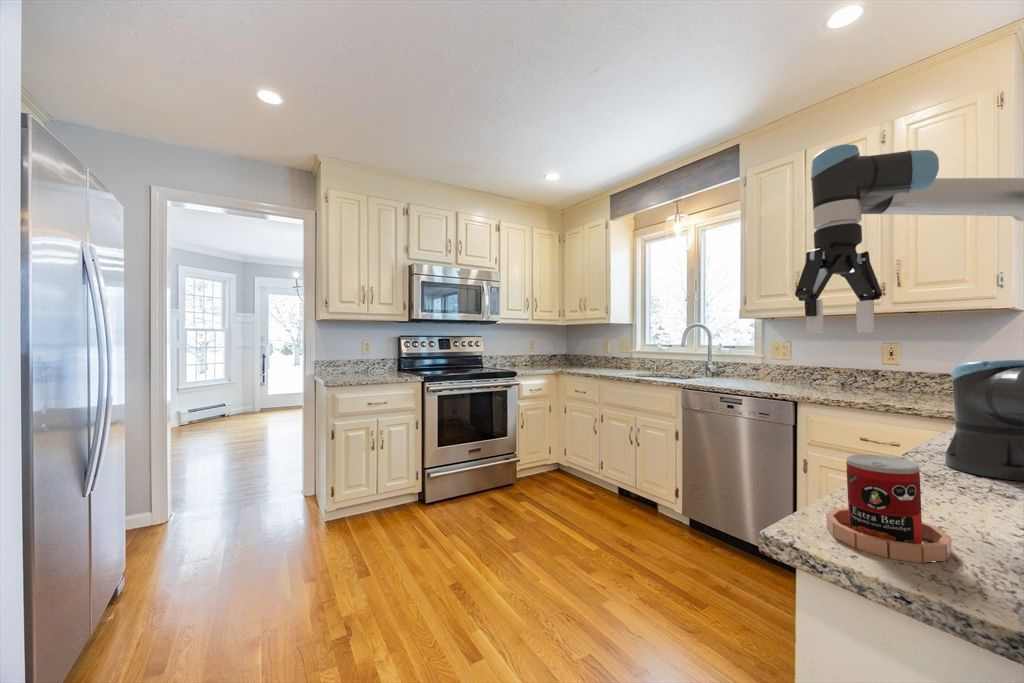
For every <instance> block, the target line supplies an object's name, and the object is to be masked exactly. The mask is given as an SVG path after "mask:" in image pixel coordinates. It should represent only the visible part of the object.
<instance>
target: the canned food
mask: <svg viewBox="0 0 1024 683" xmlns="http://www.w3.org/2000/svg"><path fill="white" fill-rule="evenodd" d="M845 464H846V485H847V488H846V489H847V508H848V513H849V523H848V528H850V529H853V530H855V531H857V532H859V533H863V534H866V535H870V536H874V537H877V538H881V539H885V540H889V541H897V542H905V543H912V544H923V538H922V522H923V521H922V518H923V517H922V496H921V476H920V475H921V473H920V472H921V471H920V468H919V465H918V464H917V463H915V462H912V461H910V460H908V459H903V458H898V457H893V456H886V455H876V454H852V455H849V456H847V457H846V462H845Z"/></svg>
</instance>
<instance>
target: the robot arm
mask: <svg viewBox="0 0 1024 683" xmlns="http://www.w3.org/2000/svg"><path fill="white" fill-rule="evenodd" d="M939 161H940V159H939V157H938V155H937V153H936V152H934V151H933V150H930V149H919V150H917V149H916V150H912V149H909V150H906V151H898V152H889V153H883V154H875V155H873V154H872V155H861V153H860V150H859V147H858V145H856V144H850V143H845V144H839V145H835V146H834V145H833V146H831V147H829V148H826V149H824V150H821V151H820V152H819V153H817V154H815V156H813V159H812V161H811V170H810V171H811V173H810V175H811V176H810V181H811V194H812V212H813V229H814V230H815V231H814V233H813V247H814V249H812V250H807V252H806V254H805V263H804V266H803V269H802V272H801V275H800V278H799V280H798V283H797V287H796V289H795V292H794V296H795V297H796V298H798V300H799V302H804V316H805V317H806V334H807V335H810V334H811V335H814V334H816V335H817V334H824V333H825V332H824V311H823V310H824V308H823V299H821V298H820V296H821V294H822V293H823V291H824V289H825V287H826V285H828V283H829V281H830V279H831V278H832V276H833V275H836V276H837V275H840V277H842V278H844V279H845V280H846V282H847V284H848V285H849V287H850V288H851V289H852V291H853V292H854V294H855V296H856V297H857V299H858V300H857V301H856V302H855V313H856V315H855V316H856V333H857V334H864V333H865V334H867V333H868V334H869V333H875V316H874V314H875V306H874V305H875V303H874V302H875V301H877V300H880V299H881V297H882V296H883V291H882V289H881V287H880V284H879V282H878V279H877V276H876V274H875V272H874V268H873V266H872V263H871V260H870V253H869V251H867V250H866V251H862V252H857V249H856V248H857V246H858V245H860V244H861V243H862V242H863V232H862V231H863V228H862V225H861V224H860V223H861V221H862V220H863V219H862V215H913V216H914V215H916V216H917V215H918V216H920V215H921V216H922V215H923V216H926V215H928V216H985V217H986V216H987V217H992V216H993V217H1011V218H1013V219H1015V220H1016V221H1019V222H1024V177H946V178H945V177H942V178H941V177H940V178H939V177H938V178H937V176H938V174H939V173H938V172H939V170H940V164H939ZM951 384H952V385H953V389H952V390H953V403H954V404H953V405H954V406H953V408H954V425H955V426H954V433H953V436H952V438H951V440H950V443H949V444H948V447H947V449H946V451H945V453H944V454H945V455H944V458H945V459H944V460H945V466H946V467H949V468H951V469H954V470H956V471H960V472H964V473H968V474H974V475H977V476H983V477H989V478H993V479H994V478H995V479H1001V480H1009V481H1018V482H1024V359H1004V360H1003V359H1000V360H999V359H996V360H985V361H984V360H983V361H982V360H981V361H971V362H968V361H967V362H962V363H958V364H956V365H955V366H954V368H953V372H952V378H951Z"/></svg>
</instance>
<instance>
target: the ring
mask: <svg viewBox="0 0 1024 683" xmlns="http://www.w3.org/2000/svg"><path fill="white" fill-rule="evenodd" d="M844 524H849V513H848V507H840V508H833V509H831V510H830V511H828V512H827V513H826V529H827V530H828V532H829V533H830V534H831V536H832V537H833V538H834V539H836V540H838V541H840V542H842V543H844V544H846V545H848V546H850V547H852V548H854V549H857V550H860V551H863V552H866V553H869V554H870V553H871V554H873V555H876V556H880V557H883V558H887V559H888V558H889V559H890V560H891V559H892V560H897V561H898V560H899V561H905V562H911V563H918V562H919V564H926V563H925V562H932V561H944V562H947V561H946V560H948V561H949V559H948V558H950V557H951V555H952V536H950V535H948V533H946V532H945V531H943V530H942V529H941V528H939V527H938V526H935V525H933V524H930V523H927V522H925V521H922V537H923V538H922V539H924V538H925V539H924V540H927V539H928V540H927V541H929V540H931V541H932V542H933V543H932V542H931V541H930V542H928V543H926V542H925V543H922V544H912V543H905V542H897V541H889V540H885V539H881V538H877V537H874V536H870V535H866V534H863V533H859V532H857V531H855V530H853V529H850V528H849V526H846V525H844ZM920 562H921V563H920Z"/></svg>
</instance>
